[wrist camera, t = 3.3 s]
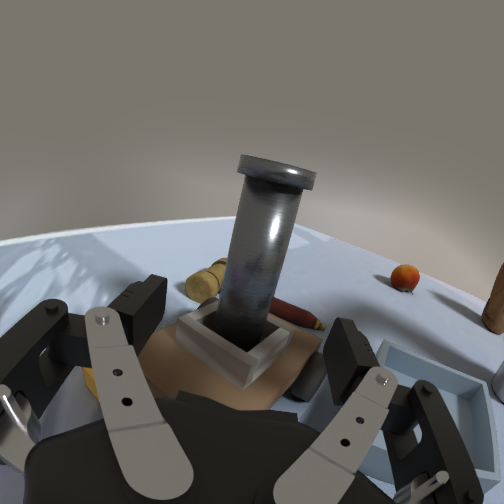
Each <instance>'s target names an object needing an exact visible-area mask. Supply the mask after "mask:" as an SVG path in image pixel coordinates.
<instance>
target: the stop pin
mask: <svg viewBox="0 0 504 504" xmlns="http://www.w3.org/2000/svg"><path fill="white" fill-rule="evenodd" d="M237 172H239V173H241V174H245V180H244V184H243V188H242V193H241V197H240V202H239V206H238V211H237V215H236V220H235V224H234V229H233V234H232V238H231V243H230V248H229V252H228V257H227V262H226V267H225V272H224V276H223V281H222V286H221V291H220V296H219V301H218V306H217V311H216V316H215V321H214V327H213V332H214V333H216V334H218V335H219V336H221V337H222V338H224V339H225V340H227V341H229V342H230V343H232V344H234V345H235V346H237V347H238V348H240V349H242V350H243V351H245V352H249V351H250V350H251V349H253V348H254V347H255V346H257V345H258V344H259V343H260V340H261V337H262V334H263V330H264V327H265V324H266V321H267V317H268V314H269V311H270V307H271V304H272V301H273V297H274V294H275V290H276V287H277V284H278V280H279V277H280V273H281V270H282V266H283V263H284V259H285V255H286V252H287V248H288V245H289V241H290V237H291V234H292V230H293V226H294V223H295V219H296V215H297V211H298V207H299V204H300V200H301V196H302V192H303V189H306V190H312V189H313V185H314V181H315V177H316V173H315V172H312V171H309V170H306V169H302V168H298V167H295V166H291V165H288V164H284V163H280V162H275V161H271V160H267V159H262V158H257V157H252V156H248V155H241V157H240V161H239V166H238V170H237Z"/></svg>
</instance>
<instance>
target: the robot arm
mask: <svg viewBox="0 0 504 504" xmlns="http://www.w3.org/2000/svg"><path fill="white" fill-rule="evenodd" d="M166 293H167V278H164V277H161V276H157V275H153V274H151V275H150V276H149V277H148V278H147V279H146V280H145V281H144V282H140V281H138V282H135V283H133V284H130V285H129V286H128V287H127V288H126V289H125V291H123V292H122V293H121V294H120V295H119V296H118V297H117V298H116V299H115V300H114V301H112V302H111V303H110V304H109V305H108V306H107V307H95V308H92V309H90V310H89V311H87V312H86V314H85V315H77V314H71V313H68V307H67V304H66V303H65V302H63V301H61V300H58V299H48V300H44V301H42V302H41V303H39V304H38V305H37V306H36V307H35V308H33V309H32V310H31V311H30V312H29V313H27V314H26V315H25V316H24V317H23V318H22V319H21V320H19V321H18V322H17V323H16V324H15V325H14V326H13V327H12V328H11V329H9V330H8V331H7V332H6V333H5V334H4V335H3V336H2V337H1V338H0V464H1V465H8V466H10V467H11V468H12V469H14V470H15V471H17V472H18V473H19V474H21V475H22V476H24V479H25V492H24V500H23V504H482V503H483V499H484V494H483V490H482V487H481V484H480V482H479V479H478V476H477V473H476V471H475V468H474V466H473V463H472V461H471V458H470V456H469V453H468V451H467V449H466V446H465V444H464V442H463V439H462V437H461V435H460V433H459V431H458V428H457V426H456V424H455V422H454V420H453V418H452V416H451V414H450V412H449V410H448V408H447V406H446V404H445V402H444V400H443V398H442V396H441V394H440V392H439V390H438V389H437V387H436V386H435V385H433V384H432V383H430V382H429V381H426V380H418V381H416V382H415V384H414V385H413V386H412V388H410V387H406V386H403V385H399V384H398V380H397V377H396V376H395V375H394V374H393V373H392V372H391V371H389V370H388V369H386V368H383V367H380V365H379V362H378V360H377V358H376V356H375V354H374V352H373V350H372V348H371V346H370V344H369V341H368V339H367V338H366V337H365V336H364V335H363V334H362V333H361V332H360V331H358V330H357V328H356V326H355V324H354V322H353V320H350V319H344V318H339V317H338V318H336V320H335V321H334V324H333V326H332V328H331V331H330V333H329V335H328V338H327V340H326V342H325V345H324V349H323V358H324V362H325V366H326V370H327V375H328V379H329V383H330V388H331V392H332V397H333V402H334V405H337V406H343V407H342V408H341V410H340V411H339V412H338V413H337V415H336V416H335V417H334V419H333V420H332V421H331V422H330V424H329V425H328V426H327V427H326V428H325V430H324V431H323V432H322V433H321V434H320V433H319V432H318V431H316V430H315V429H313V428H311V427H309V426H307V425H305V424H303V423H300V422H298V417H297V413H290V412H282V411H275V410H236V409H233V408H231V407H229V406H226V405H224V404H222V403H219V402H217V401H215V400H212V399H210V398H208V397H204V396H200V395H196V394H192V393H188V392H185V391H181V390H179V392H178V395H177V397H176V398H172V397H164V398H156V399H154V398H153V395H152V393H151V391H150V389H149V386H148V384H147V381H146V379H145V376H144V374H143V371H142V369H141V366H140V364H139V361H138V358H137V357H138V356H139V354H140V352H141V351H142V349H143V348H144V346H145V345H146V343H147V341H148V340H149V338H150V337H151V335H152V334H153V332H154V331H155V329H156V327H157V326H158V324H159V323H160V321H161V320H162V318H163V315H164V311H165V304H166ZM45 348H46V350H45V351H44V352H43V354H42V355H41V356H40V354H41V352H42V351H43V350H44V349H45ZM39 356H40V357H39ZM75 366H80V367H86V368H92V369H93V374H94V379H95V384H96V389H97V393H98V397H99V401H100V405H101V409H102V413H103V416H104V418H103V419H100V420H98V421H95V422H92V423H90V424H87V425H84V426H81V427H78V428H76V429H73V430H70V431H67V432H64V433H61V434H58V435H55V436H51V437H48V438H46V439H43V440H41V441H40V442H39V438H40V435H41V425H40V422H39V418H40V417H41V415H42V414H43V412H44V410H45V409H46V407H47V406H48V404H49V403H50V401H51V400H52V398H53V397H54V395H55V394H56V392H57V391H58V389H59V388H60V386H61V385H62V384H63V382H64V381H65V379H66V378H67V376H68V375H69V374H70V372H71V371H72V369H73V368H74V367H75ZM492 387H493V390H494V392H495V393H496V395H497V396H498V398H499V399H500V400H501V401H502V402H503V403H504V361H503V363H502V364H501V366H500V367H499V369H498V370H497V372H496V373H495V375H494V379H493V381H492ZM418 424H419V426H420V429H421V432H422V437H421V440H420V442H419V444H418V441H417V438H416V435H415V433H414V430H413V429H414V428H415V427H416V426H417V425H418ZM379 430H382V432H383V436H384V440H385V444H386V448H387V452H388V456H389V461H390V465H391V470H392V474H393V479H394V484H395V489H396V494H395V495H394V497H393V499H391V498H390V497H389V496H388V495H387V494H385V493H384V492H383V491H382V490H381V489H380V488H378V487H377V486H376V485H375V484H374V483H373V482H372V481H370V480H369V479H368V478H367V477H366V476H365V475H364V474H363V473H362V472H360V471H359V470H358V468H359V466H360V465H361V463H362V461H363V460H364V458H365V456H366V454H367V453H368V451H369V449H370V447H371V446H372V444H373V442H374V440H375V438H376V436H377V434H378V432H379Z"/></svg>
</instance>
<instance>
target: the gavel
mask: <svg viewBox="0 0 504 504" xmlns="http://www.w3.org/2000/svg"><path fill="white" fill-rule="evenodd" d="M226 262H227V258H221V259H219V260H218V261H216V262H214V263H213V264H212V265H211V267H209V268H208V269H206V270H204V271H199V272H197V273H195V274H193V275H191V276H190V277H189V278H188V279H187V280H186V283H185V290H186V293H187V295H188V297H189V298H190V299H191V300H193V301H195V302H198V303H200V304H202V303H203V302H204V301H205V300H207V299H208V298H211V297H216V296H217V294H218V292H219V291H220V290H221V286H222V281H223V276H224V272H225V267H226ZM269 313H271V314H273V315H275V316H276V317H279V318H281V319H283V320H286V321H288V322H291V323H293V324H296V325H299V326H301V327H305V328H313V329H317V328H320V329H321V330H325V328H326V324H324V323H320V320H319V319H317V318H316V317H315V316H314V315H313V314H312V313H310V312H308V311H306V310H304V309H301V308H299V307H296V306H294V305H292V304H289V303H287V302H284V301H282V300H280V299H277V298H275V297H273V301H272V304H271V307H270V311H269Z"/></svg>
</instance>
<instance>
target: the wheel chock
mask: <svg viewBox="0 0 504 504" xmlns="http://www.w3.org/2000/svg"><path fill="white" fill-rule="evenodd" d="M82 369H83V374H84V378H85V383H86V385H87V387H88V388H89V389H90V391H91V392H92V393H93V394H94V396H95V397H96V398H97V400H98V401H99V397H98V393H97V389H96V384H95V379H94V374H93V369H92V368H86V367H82ZM99 402H100V401H99Z"/></svg>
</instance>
